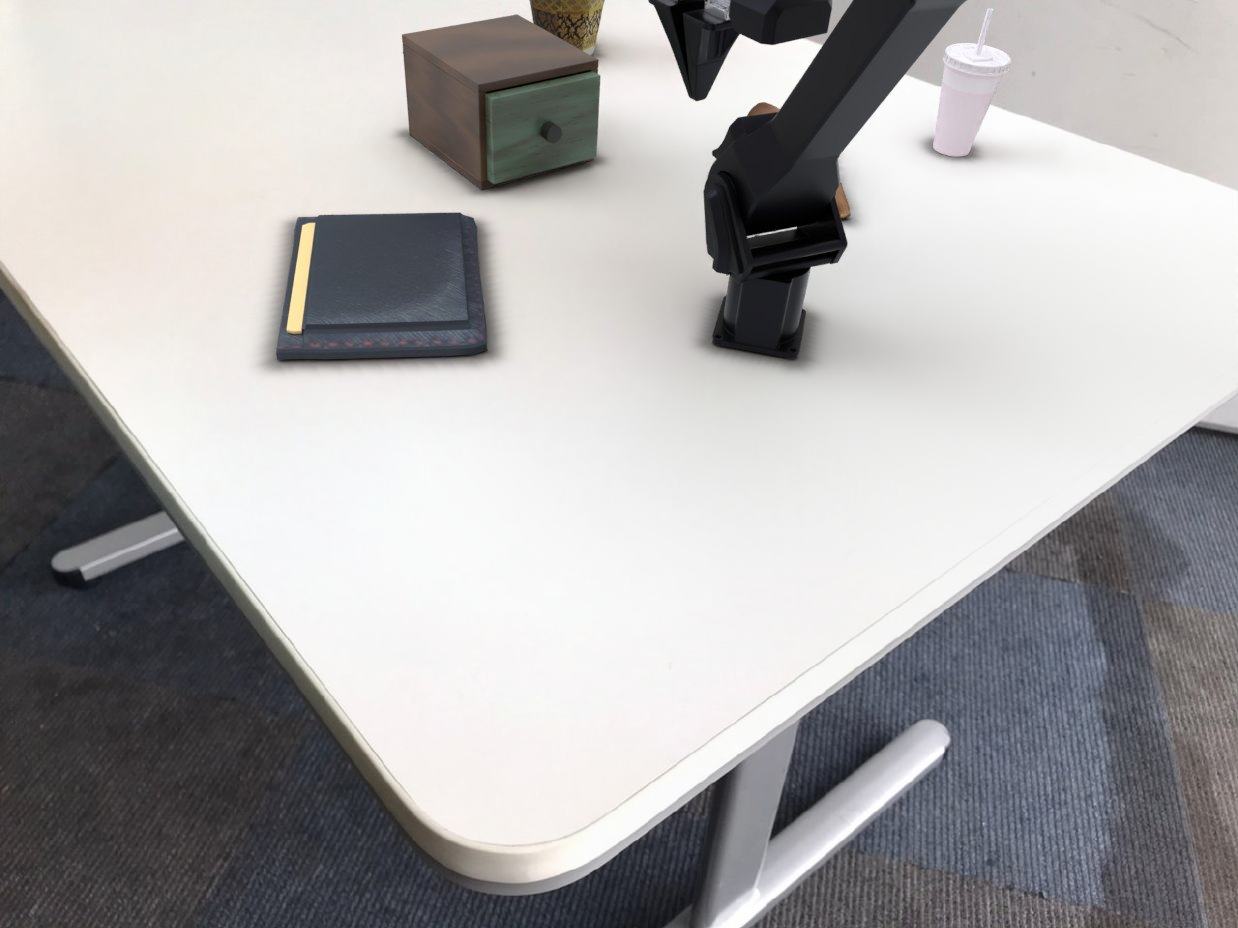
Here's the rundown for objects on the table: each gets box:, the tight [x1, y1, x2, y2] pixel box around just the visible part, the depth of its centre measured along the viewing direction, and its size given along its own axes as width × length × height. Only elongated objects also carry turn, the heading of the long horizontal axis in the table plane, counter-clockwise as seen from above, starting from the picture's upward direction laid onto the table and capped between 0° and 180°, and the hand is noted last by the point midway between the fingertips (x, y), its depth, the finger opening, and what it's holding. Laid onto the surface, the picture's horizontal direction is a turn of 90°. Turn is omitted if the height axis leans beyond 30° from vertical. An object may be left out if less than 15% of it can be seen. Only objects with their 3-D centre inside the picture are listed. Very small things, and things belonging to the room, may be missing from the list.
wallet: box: [275, 212, 488, 361], centre depth 79 cm, size 20×2×15 cm
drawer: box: [485, 71, 601, 184], centre depth 95 cm, size 14×11×8 cm
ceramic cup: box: [529, 0, 606, 56], centre depth 117 cm, size 13×10×10 cm
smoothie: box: [932, 7, 1012, 158], centre depth 101 cm, size 6×6×14 cm
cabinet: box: [401, 14, 599, 191], centre depth 96 cm, size 14×13×10 cm
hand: (697, 99), depth 78 cm, fingers closed
